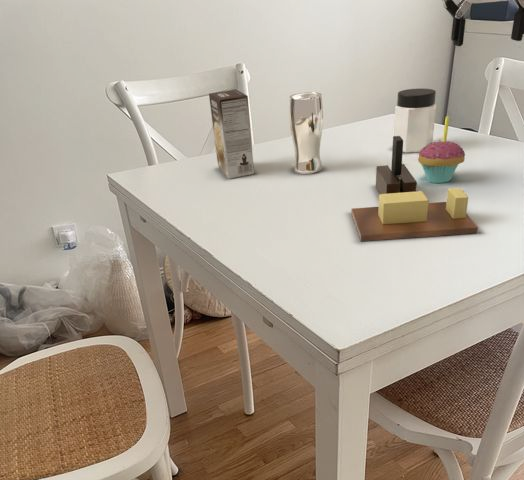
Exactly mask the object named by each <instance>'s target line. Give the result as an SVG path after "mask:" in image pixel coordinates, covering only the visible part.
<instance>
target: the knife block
mask: <svg viewBox="0 0 524 480" xmlns="http://www.w3.org/2000/svg"><path fill="white" fill-rule="evenodd" d="M375 169H376V170H375V188H376V191H377V192H378V195H379V194H389V193H399V182H398V180H397V179H396V177H395V176H394V174H393V172H392V170H391V167H390V166H389V165H388V164H386V165H377V166H376V168H375ZM399 176H400V178H401V183H400V193H403V192H416V191H417V185H418V184H417V183H418V182H417V180H416V178H415V177H414V176H413V175H412V173H411V172H410V170H409V169H408V167H407V166H406V165H405V163H402V169H401V175H399Z"/></svg>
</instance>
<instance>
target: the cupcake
mask: <svg viewBox="0 0 524 480" xmlns="http://www.w3.org/2000/svg"><path fill="white" fill-rule="evenodd" d="M449 113H450V112H449V111H448V112H447V115H446V116H445V120H444V127H443V133H442V134H443V136H442V140H439V141H435V140H434V141H433V142H432V143H430V144H427V145H426V146H425V147H423V148H422V150H420V152H418V157H417V162H418V163H419V164H420V165H421V167H422V169H423V172H424V177H425V180H426V182H429V183H433V184H442V183H443V184H444V183H449V182H450V181H451V180H452V178H453V176H454V173H455V171H456V170H457V168H458V166H459V165H460V164H462V163H464V162H465V157H466V153H465V150H464V148H463V147H461V145H459V144H458V143H456V142H453V141H449V140H447V139H448V138H447V137H448V131H449V123H450V116H449V115H450V114H449Z"/></svg>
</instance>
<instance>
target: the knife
mask: <svg viewBox="0 0 524 480" xmlns="http://www.w3.org/2000/svg"><path fill="white" fill-rule="evenodd" d="M391 151H392V153H391V167H390V169H391V171H392V172H393V174H394V176H395V177H396V179H397V180H398V182H399V193H400V183H401V178H400V176H399V175H401V169H402V164H403V155H404V154H403V153H404V152H403V139H402V138H401V137H400V136H394V135H393V137H392V150H391Z"/></svg>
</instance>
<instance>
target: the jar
mask: <svg viewBox="0 0 524 480" xmlns="http://www.w3.org/2000/svg"><path fill="white" fill-rule="evenodd" d="M436 91H437V90H435V89H433V88H409V89H403V90H400V91H398V92H397V99H396V100H397V102H396V105H395V108H394V123H393V124H394V125H393V136H400V137H401V138H402V139H403V153H404V154H405V153H406V154H407V153H409V154H410V153H420V150H422V148H423V147H425V146H426V145H427V144H430V143H432V142H434V141H433V140H434V131H435V121H436V110H437V103H436V95H437V92H436Z"/></svg>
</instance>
